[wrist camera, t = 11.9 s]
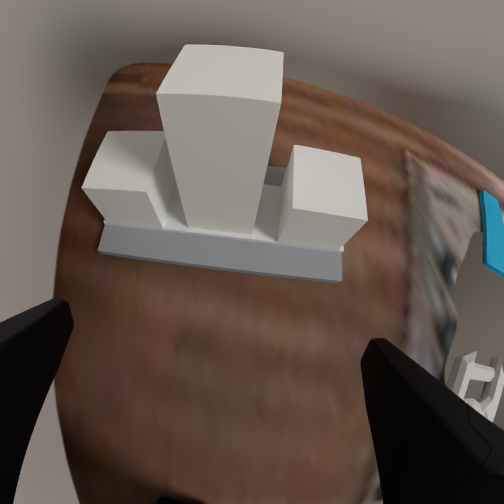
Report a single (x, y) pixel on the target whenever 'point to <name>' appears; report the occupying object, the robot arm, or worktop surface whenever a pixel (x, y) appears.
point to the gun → (490, 375)
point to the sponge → (492, 233)
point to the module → (221, 131)
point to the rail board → (223, 243)
